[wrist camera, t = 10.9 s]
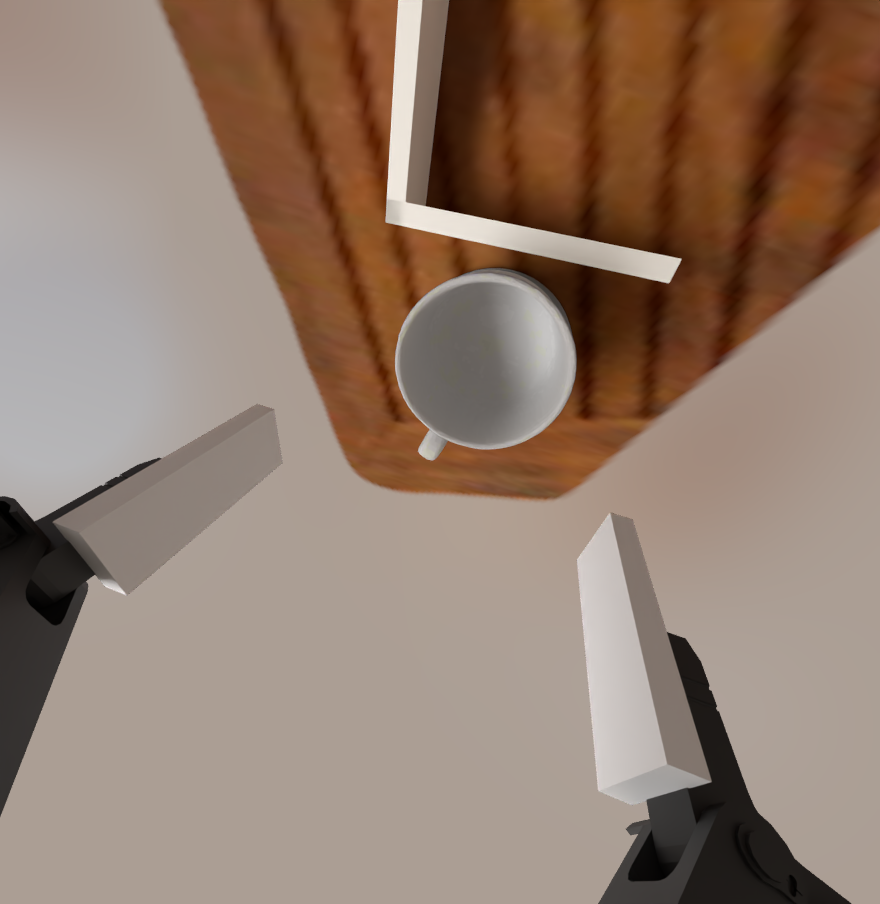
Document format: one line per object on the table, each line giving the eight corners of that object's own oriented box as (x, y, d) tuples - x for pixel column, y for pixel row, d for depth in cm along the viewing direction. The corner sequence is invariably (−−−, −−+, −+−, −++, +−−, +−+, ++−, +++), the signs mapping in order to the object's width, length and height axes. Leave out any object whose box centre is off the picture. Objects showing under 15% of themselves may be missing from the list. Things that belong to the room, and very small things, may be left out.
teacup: (494, 226, 22) (472, 220, 15) (601, 339, 24) (622, 376, 17) (387, 371, 30) (343, 407, 23) (473, 447, 31) (455, 500, 25)
